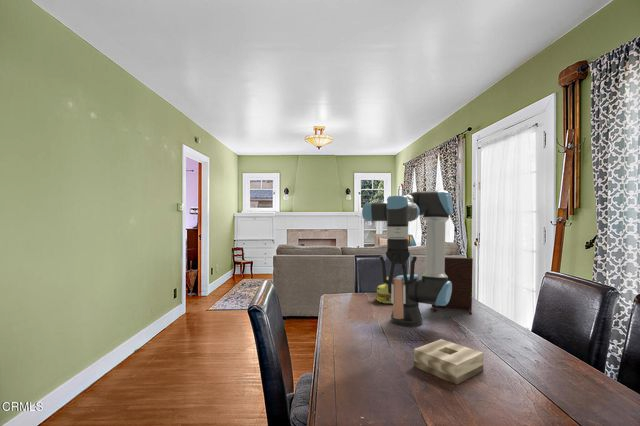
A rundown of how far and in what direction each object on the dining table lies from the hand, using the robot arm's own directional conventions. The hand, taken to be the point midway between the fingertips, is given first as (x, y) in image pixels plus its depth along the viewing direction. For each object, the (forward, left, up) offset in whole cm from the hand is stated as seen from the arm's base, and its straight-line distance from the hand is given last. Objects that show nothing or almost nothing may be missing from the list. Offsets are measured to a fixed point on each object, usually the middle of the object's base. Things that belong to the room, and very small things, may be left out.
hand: (398, 302), depth 123 cm
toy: (-60, +62, -21) cm, 89 cm away
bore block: (+15, +8, -21) cm, 27 cm away
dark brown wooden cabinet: (-25, +74, -21) cm, 81 cm away
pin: (0, 0, -5) cm, 5 cm away
